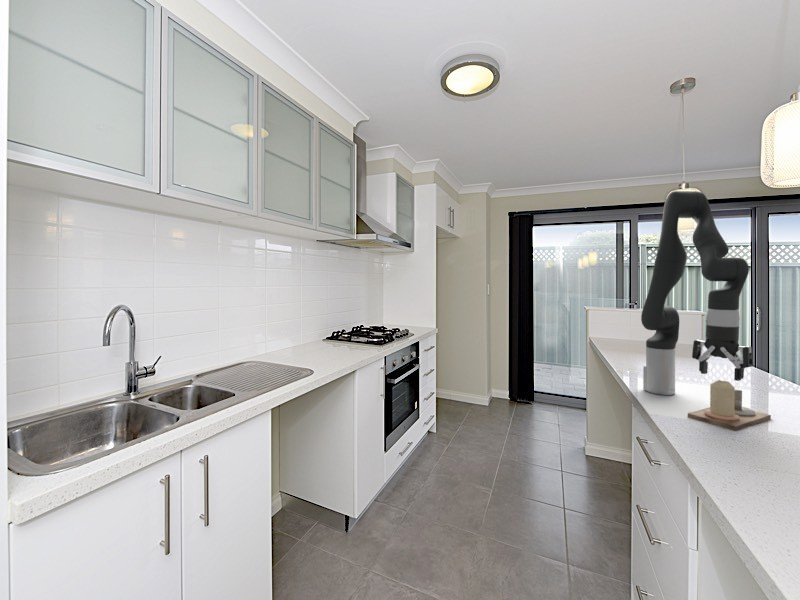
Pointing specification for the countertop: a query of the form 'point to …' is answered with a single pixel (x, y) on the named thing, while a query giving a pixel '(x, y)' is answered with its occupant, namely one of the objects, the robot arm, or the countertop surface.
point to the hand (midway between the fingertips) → (720, 376)
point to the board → (745, 414)
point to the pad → (732, 418)
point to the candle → (722, 398)
